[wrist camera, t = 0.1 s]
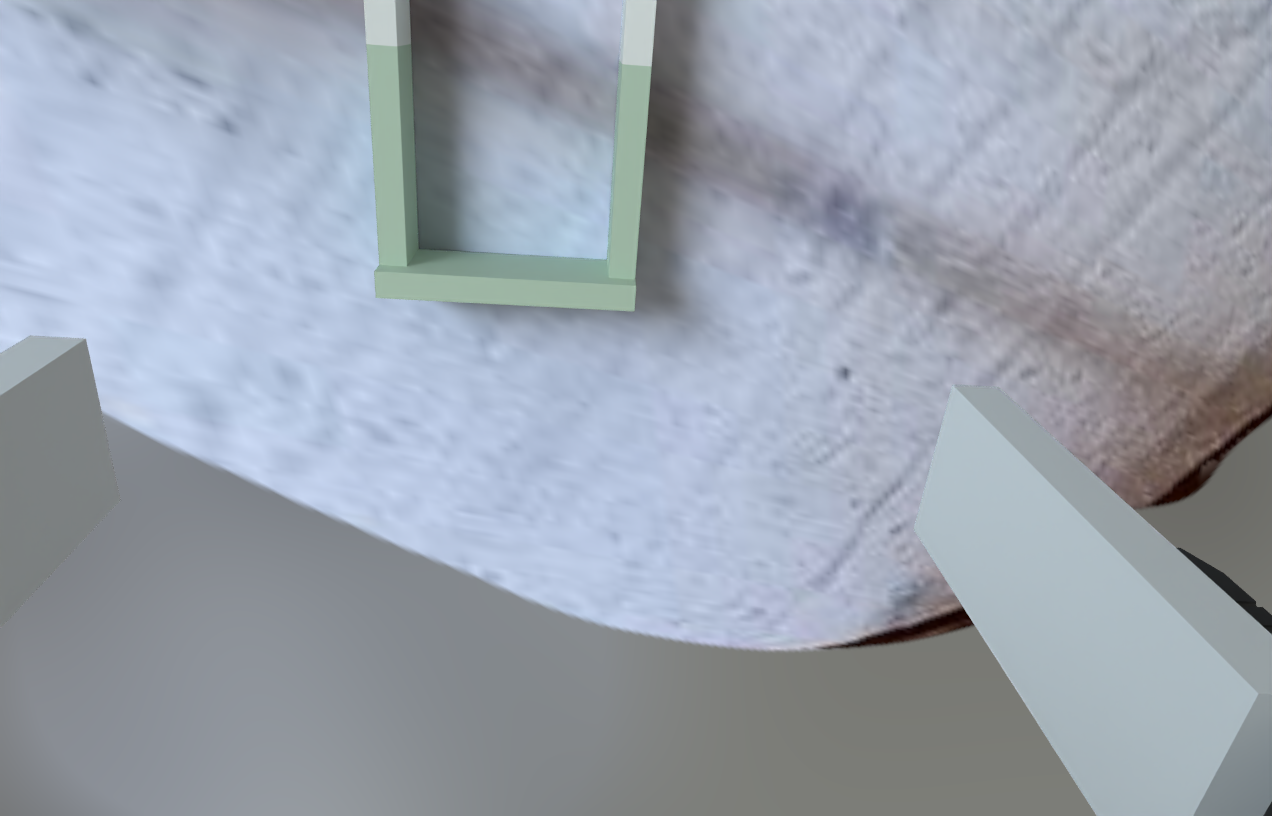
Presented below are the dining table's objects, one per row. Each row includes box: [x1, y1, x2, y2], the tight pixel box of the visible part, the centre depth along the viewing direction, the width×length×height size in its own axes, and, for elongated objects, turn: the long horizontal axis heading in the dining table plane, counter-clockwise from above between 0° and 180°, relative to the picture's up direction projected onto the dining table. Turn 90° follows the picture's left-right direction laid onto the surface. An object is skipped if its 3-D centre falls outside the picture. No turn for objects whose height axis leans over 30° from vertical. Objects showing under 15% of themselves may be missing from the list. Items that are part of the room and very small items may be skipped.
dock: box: [364, 0, 657, 311], centre depth 35 cm, size 19×11×4 cm, turn 176°
